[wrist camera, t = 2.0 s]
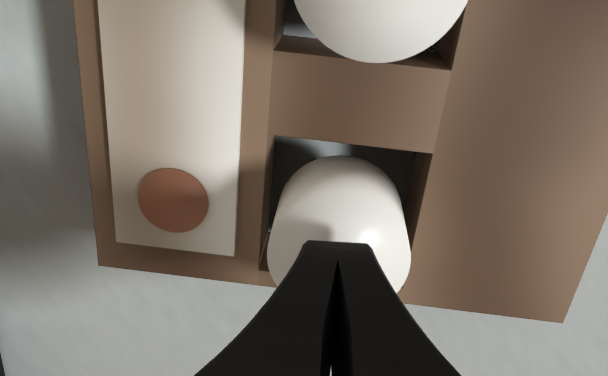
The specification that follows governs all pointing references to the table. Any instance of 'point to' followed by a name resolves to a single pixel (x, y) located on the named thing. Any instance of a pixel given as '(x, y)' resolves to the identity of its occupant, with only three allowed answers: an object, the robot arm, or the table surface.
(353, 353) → the robot arm
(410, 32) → the button middle
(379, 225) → the button
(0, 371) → the battery
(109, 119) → the board
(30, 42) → the table surface
